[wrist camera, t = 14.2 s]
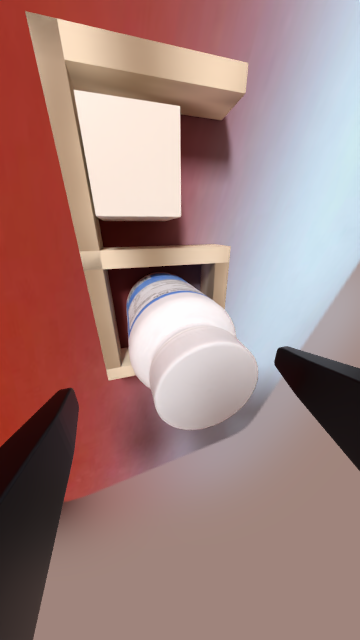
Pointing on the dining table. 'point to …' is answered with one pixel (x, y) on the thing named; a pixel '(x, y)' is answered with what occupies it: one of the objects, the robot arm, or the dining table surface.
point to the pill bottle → (187, 353)
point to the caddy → (58, 86)
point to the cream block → (131, 156)
